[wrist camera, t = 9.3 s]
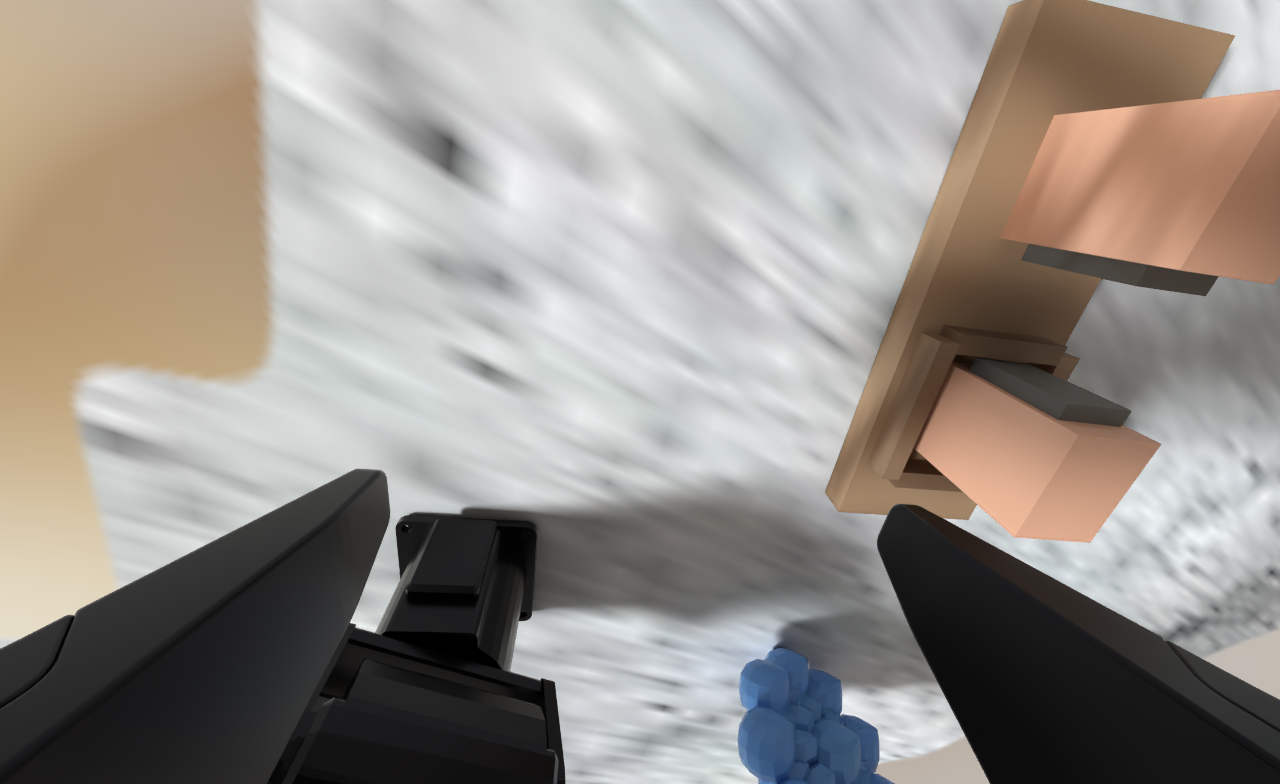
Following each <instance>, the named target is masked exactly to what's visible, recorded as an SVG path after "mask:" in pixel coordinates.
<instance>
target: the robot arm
mask: <svg viewBox="0 0 1280 784" xmlns="http://www.w3.org/2000/svg"><path fill="white" fill-rule="evenodd" d="M389 519H390V504H389V494H388V485H387V477H386V475H385V473H384V472H383V471H381V470H372V469H355V470H353V471H351V472H349V473H347V474H345V475H343V476H341V477H339V478H337V479H335V480H333V481H331V482H329V483H327V484H325V485H323V486H321V487H319V488H317V489H315V490H313V491H311V492H309V493H307V494H305V495H303V496H301V497H299V498H298V499H296V500H294V501H292V502H290V503H288V504H286V505H284V506H282V507H280V508H278V509H276V510H274V511H272V512H270V513H268V514H266V515H264V516H262V517H260V518H258V519H256V520H254V521H252V522H250V523H248V524H246V525H244V526H242V527H240V528H238V529H236V530H234V531H232V532H231V533H229V534H227V535H225V536H223V537H221V538H219V539H217V540H215V541H213V542H211V543H209V544H207V545H205V546H203V547H201V548H199V549H197V550H195V551H193V552H191V553H189V554H187V555H185V556H183V557H181V558H179V559H177V560H175V561H173V562H171V563H169V564H167V565H165V566H163V567H161V568H159V569H158V570H156V571H154V572H152V573H150V574H148V575H146V576H144V577H142V578H140V579H138V580H136V581H134V582H132V583H130V584H128V585H126V586H124V587H122V588H120V589H118V590H116V591H114V592H112V593H110V594H108V595H106V596H104V597H102V598H100V599H98V600H96V601H94V602H92V603H90V604H89V605H86V606H85V607H83V608H81V609H79V610H78V611H77V612H76V614H75V616H74V615H67V616H64V617H62V618H61V619H59V620H57V621H55V622H53V623H51V624H49V625H47V626H45V627H43V628H41V629H39V630H37V631H35V632H33V633H31V634H29V635H27V636H25V637H23V638H21V639H19V640H17V641H15V642H13V643H11V644H9V645H7V646H5V647H3V648H1V649H0V784H565V766H564V758H563V749H562V741H561V732H560V723H559V715H558V706H557V698H556V689H555V682H553V681H550V680H546V679H543V678H542V679H541V680H537V679H534V678H530V677H527V676H523V675H520V674H516V673H513V672H510V668H511V663H512V657H513V651H514V645H515V639H516V633H517V628H518V622H519V621H526V620H528V619H530V618H531V616H532V610H533V596H534V580H535V564H536V549H537V533H538V529H537V526H536V525H535V524H534V523H532V522H526V521H507V520H488V519H470V518H451V517H432V516H413V515H407V516H403V517H401V519H400V520H399V521H398V523H397V525H396V538H397V548H398V558H399V569H400V579H401V580H400V582H399V584H398V586H397V588H396V590H395V592H394V594H393V596H392V599H391V601H390V603H389V605H388V607H387V609H386V611H385V613H384V615H383V618H382V620H381V622H380V624H379V626H378V628H377V630H376V632H375V633H373V632H370V631H366V630H363V629H359V628H356V627H355V626H356V625H355V624H352V623H350V621H351V619H352V616H353V614H354V612H355V610H356V607H357V605H358V602H359V600H360V597H361V595H362V592H363V590H364V587H365V584H366V582H367V579H368V576H369V574H370V571H371V569H372V566H373V563H374V561H375V558H376V555H377V553H378V550H379V548H380V545H381V542H382V540H383V537H384V534H385V532H386V529H387V526H388V523H389ZM405 525H408V526H410V527H412V528H409V527H407V526H405ZM524 531H528V532H530V533H528V534H527V533H524ZM877 547H878V551H879V553H880V556H881V558H882V561H883V563H884V566H885V568H886V571H887V573H888V576H889V578H890V580H891V583H892V585H893V588H894V590H895V593H896V595H897V598H898V600H899V603H900V605H901V608H902V610H903V612H904V615H905V617H906V619H907V622H908V624H909V626H910V629H911V631H912V633H913V635H914V637H915V639H916V641H917V643H918V645H919V647H920V649H921V651H922V653H923V655H924V656H925V658H926V660H927V662H928V664H929V666H930V668H931V670H932V672H933V674H934V676H935V678H936V680H937V682H938V684H939V686H940V688H941V689H942V691H943V693H944V695H945V697H946V699H947V701H948V703H949V705H950V707H951V709H952V711H953V713H954V715H955V717H956V719H957V720H958V722H959V724H960V726H961V728H962V730H963V732H964V734H965V736H966V738H967V740H968V742H969V744H970V746H971V748H972V749H973V752H974V753H975V755H976V757H977V759H978V761H979V763H980V765H981V767H982V769H983V771H984V773H985V775H986V777H987V779H988V781H989V783H990V784H1280V700H1279V699H1277V698H1275V697H1273V696H1271V695H1270V694H1267V693H1266V692H1264V691H1262V690H1260V689H1258V688H1256V687H1254V686H1252V685H1250V684H1248V683H1246V682H1245V681H1243V680H1241V679H1239V678H1237V677H1235V676H1233V675H1231V674H1230V673H1228V672H1226V671H1224V670H1222V669H1220V668H1218V667H1216V666H1215V665H1213V664H1211V663H1209V662H1207V661H1205V660H1203V659H1201V658H1200V657H1198V656H1196V655H1194V654H1192V653H1190V652H1188V651H1187V650H1185V649H1183V648H1181V647H1179V646H1177V645H1176V644H1174V643H1172V642H1170V641H1164V639H1163V638H1162V637H1160V636H1159V635H1157V634H1155V633H1153V632H1151V631H1150V630H1148V629H1146V628H1144V627H1142V626H1140V625H1138V624H1137V623H1135V622H1133V621H1131V620H1129V619H1127V618H1126V617H1124V616H1122V615H1120V614H1118V613H1116V612H1114V611H1113V610H1111V609H1109V608H1107V607H1105V606H1103V605H1102V604H1100V603H1098V602H1096V601H1094V600H1092V599H1090V598H1089V597H1087V596H1085V595H1083V594H1081V593H1079V592H1078V591H1076V590H1074V589H1072V588H1070V587H1068V586H1067V585H1065V584H1063V583H1061V582H1059V581H1057V580H1055V579H1054V578H1052V577H1050V576H1048V575H1046V574H1044V573H1043V572H1041V571H1039V570H1037V569H1035V568H1033V567H1031V566H1030V565H1028V564H1026V563H1024V562H1022V561H1020V560H1019V559H1017V558H1015V557H1013V556H1011V555H1009V554H1007V553H1006V552H1004V551H1002V550H1000V549H998V548H996V547H995V546H993V545H991V544H989V543H987V542H985V541H983V540H982V539H980V538H978V537H976V536H974V535H972V534H971V533H969V532H967V531H965V530H963V529H961V528H959V527H958V526H956V525H954V524H952V523H950V522H948V521H947V520H945V519H943V518H941V517H939V516H937V515H936V514H934V513H932V512H930V511H928V510H926V509H924V508H923V507H921V506H918V505H912V504H896V505H894V506H893V507H892V508H891V509H890V511H889V513H888V515H887V518H886V520H885V522H884V524H883V526H882V529H881V531H880V533H879V535H878V539H877ZM522 611H524V612H522Z"/></svg>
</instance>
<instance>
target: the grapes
mask: <svg viewBox="0 0 1280 784" xmlns="http://www.w3.org/2000/svg"><path fill="white" fill-rule="evenodd" d="M739 691H740V699H741V703H742V706H743V707H744V708H745V709H746V710H747V712H746V713H745V715H744V717H743V719H742V721H741V723H740V725H739V733H738V748H739V755H740V758H741V761H742V763H743V764H744V765H745V767H746V768H747V769H748V770H749V772H751V773H752V774H753V775H755V776H756V777H757V778H759V780H758V784H894V783H892V782H891V781H889V780H887V779H886V778H884V777H882V776H881V775H879V774H874V772H876V768H877V765H878V762H879V737H878V731H877V729H876V728H875V727H873V726H872V725H870V724H869V723H867V722H865V721H863V720H862V719H860V718H858V717H855V716H850V715H844V714H842V715H841V716H840V713H841V711H842V689H841V682H840V680H839V679H837V678H835V677H834V676H832V675H830V674H828V673H826V672H824V671H820V670H813V669H808V662H807V658H805V657H804V656H802V655H800V654H798V653H796V652H794V651H792V650H790V649H783V648H777V649H775V650H772V651H770V652H769V653H768V655H767V656H766V658H765V660H760V659H756V660H753V661H751V662H749V663H747V664H746V665H745V667H744V669H743V671H742V672H741V675H740V683H739Z"/></svg>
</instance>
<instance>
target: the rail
mask: <svg viewBox="0 0 1280 784" xmlns="http://www.w3.org/2000/svg"><path fill="white" fill-rule="evenodd" d="M1234 37H1235V36H1234V35H1230V34H1226V33H1222V32H1218V31H1213V30H1209V29H1205V28H1201V27H1197V26H1192V25H1188V24H1184V23H1180V22H1176V21H1171V20H1167V19H1163V18H1159V17H1155V16H1150V15H1146V14H1142V13H1138V12H1134V11H1129V10H1125V9H1121V8H1117V7H1113V6H1108V5H1104V4H1100V3H1096V2H1092V1H1087V0H1023V1H1021V2H1018V3H1015V4H1013V5H1010V6H1009V7H1008V9H1007V12H1006V15H1005V17H1004V20H1003V22H1002V25H1001V28H1000V30H999V33H998V36H997V38H996V41H995V44H994V46H993V49H992V52H991V54H990V57H989V60H988V62H987V65H986V67H985V70H984V73H983V75H982V78H981V81H980V83H979V86H978V89H977V91H976V94H975V97H974V99H973V102H972V105H971V107H970V110H969V113H968V115H967V118H966V120H965V123H964V126H963V128H962V131H961V134H960V136H959V139H958V142H957V144H956V147H955V150H954V152H953V155H952V158H951V160H950V163H949V166H948V168H947V171H946V173H945V176H944V179H943V181H942V184H941V187H940V189H939V192H938V195H937V197H936V200H935V203H934V205H933V208H932V211H931V213H930V216H929V218H928V221H927V224H926V226H925V229H924V232H923V234H922V237H921V240H920V242H919V245H918V248H917V250H916V253H915V256H914V258H913V261H912V264H911V266H910V269H909V271H908V274H907V277H906V279H905V282H904V285H903V287H902V290H901V293H900V295H899V298H898V301H897V303H896V306H895V309H894V311H893V314H892V317H891V319H890V322H889V324H888V327H887V330H886V332H885V335H884V338H883V340H882V343H881V346H880V348H879V351H878V354H877V356H876V359H875V362H874V364H873V367H872V369H871V372H870V375H869V377H868V380H867V383H866V385H865V388H864V391H863V393H862V396H861V399H860V401H859V404H858V407H857V409H856V412H855V415H854V417H853V420H852V422H851V425H850V428H849V430H848V433H847V436H846V438H845V441H844V444H843V446H842V449H841V452H840V454H839V457H838V460H837V462H836V465H835V468H834V470H833V473H832V475H831V478H830V481H829V483H828V486H827V489H826V491H825V493H826V494H827V496H828V497H829V499H830V500H831V502H832V503H833V504H834V506H835V507H836V509H837V510H838V512H849V513H866V514H882V515H888V513H889V511H890V509H891V508H892V507H893V506H894V505H896V504H912V505H918V506H921V507H923V508H924V509H926V510H928V511H930V512H932V513H934V514H936V515H937V516H939V517H941V518H947V519H963V520H969V518H970V516H971V514H972V512H973V511H974V509H975V507H976V505H977V504H976V503H975V502H974V501H973V500H972V499H971V498H969V497H968V496H967V495H966V494H965V493H964V492H963V491H962V490H960V489H959V488H958V487H957V486H956V485H955V484H954V483H953V482H951V481H950V480H949V479H948V478H947V477H946V476H945V475H944V474H942V473H941V472H940V471H939V470H938V469H937V468H936V467H935V466H933V465H932V464H931V463H930V462H929V461H928V460H927V459H926V458H924V457H923V456H922V455H921V454H920V453H919V452H918V451H916V450H915V449H914V448H913V447H914V445H915V443H916V441H917V438H918V436H919V434H920V432H921V430H922V427H923V425H924V423H925V421H926V419H927V416H928V414H929V412H930V410H931V408H932V405H933V403H934V401H935V399H936V396H937V394H938V392H939V390H940V388H941V385H942V383H943V381H944V379H945V377H946V374H947V372H948V370H949V368H950V366H951V363H952V362H957V363H965V364H973V363H974V361H975V359H976V357H978V358H986V359H993V360H1001V361H1009V362H1016V363H1024V364H1030V365H1032V366H1034V367H1036V368H1039V369H1041V370H1043V371H1045V372H1047V373H1050V374H1052V375H1054V376H1056V377H1058V378H1060V379H1063V380H1065V381H1067V380H1068V378H1069V376H1070V375H1071V373H1072V371H1073V369H1074V368H1075V366H1076V364H1077V362H1078V361H1079V359H1080V358H1077V357H1075V356H1072V355H1069V354H1067V353H1064V352H1065V351H1066V349H1067V347H1066V346H1065V344H1066V342H1067V340H1068V338H1069V336H1070V335H1071V333H1072V331H1073V329H1074V327H1075V326H1076V324H1077V322H1078V320H1079V318H1080V317H1081V315H1082V313H1083V311H1084V309H1085V307H1086V306H1087V304H1088V302H1089V300H1090V298H1091V297H1092V295H1093V293H1094V291H1095V289H1096V288H1097V286H1098V284H1099V282H1100V280H1101V278H1102V279H1106V280H1111V281H1116V282H1120V283H1125V284H1129V285H1134V286H1139V287H1146V288H1153V289H1160V290H1167V291H1174V292H1181V293H1188V294H1195V295H1201V296H1206V295H1207V293H1208V292H1209V290H1210V289H1211V287H1212V286H1213V284H1214V283H1215V281H1216V280H1217V278H1218V277H1219V276H1220V277H1227V278H1233V279H1240V280H1247V281H1253V282H1260V283H1266V284H1274V283H1275V282H1276V280H1277V279H1278V277H1279V276H1280V90H1275V91H1266V92H1257V93H1248V94H1239V95H1230V96H1221V97H1213V98H1204V99H1201V97H1202V95H1203V94H1204V92H1205V90H1206V88H1207V86H1208V84H1209V83H1210V81H1211V79H1212V77H1213V75H1214V74H1215V72H1216V70H1217V68H1218V66H1219V65H1220V63H1221V61H1222V59H1223V57H1224V55H1225V54H1226V52H1227V50H1228V48H1229V46H1230V45H1231V43H1232V41H1233V39H1234Z"/></svg>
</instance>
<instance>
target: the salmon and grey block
mask: <svg viewBox="0 0 1280 784" xmlns="http://www.w3.org/2000/svg"><path fill="white" fill-rule="evenodd" d="M1130 413H1131V410H1128V409H1126V408H1124V407H1122V406H1120V405H1117V404H1115V403H1113V402H1111V401H1109V400H1106V399H1104V398H1102V397H1100V396H1098V395H1095V394H1093V393H1091V392H1089V391H1087V390H1085V389H1082V388H1080V387H1078V386H1076V385H1074V384H1071V383H1069V382H1067V381H1065V380H1063V379H1060V378H1058V377H1056V376H1054V375H1052V374H1050V373H1047V372H1045V371H1043V370H1041V369H1039V368H1036V367H1034V366H1032V365H1030V364H1024V363H1016V362H1009V361H1001V360H993V359H986V358H978V357H976V359H975V361H974V363H973V364H965V363H957V362H952V363H951V366H950V368H949V370H948V372H947V374H946V377H945V379H944V381H943V383H942V385H941V388H940V390H939V392H938V394H937V396H936V399H935V401H934V403H933V405H932V408H931V410H930V412H929V414H928V416H927V419H926V421H925V423H924V425H923V427H922V430H921V432H920V434H919V436H918V438H917V441H916V443H915V445H914V447H913V448H914V449H915V450H916V451H918V452H919V453H920V454H921V455H922V456H923V457H924V458H926V459H927V460H928V461H929V462H930V463H931V464H932V465H933V466H935V467H936V468H937V469H938V470H939V471H940V472H941V473H942V474H944V475H945V476H946V477H947V478H948V479H949V480H950V481H951V482H953V483H954V484H955V485H956V486H957V487H958V488H959V489H960V490H962V491H963V492H964V493H965V494H966V495H967V496H968V497H969V498H971V499H972V500H973V501H974V502H975V503H976V504H977V505H978V506H980V507H981V508H982V509H983V510H984V511H985V512H986V513H988V514H989V515H990V516H991V517H992V518H993V519H994V520H995V521H997V522H998V523H999V524H1000V525H1001V526H1002V527H1003V528H1004V529H1006V530H1007V531H1008V532H1009V533H1010V534H1011V535H1012V536H1013V537H1018V538H1033V539H1047V540H1061V541H1075V542H1089V543H1090V542H1091V540H1092V539H1093V538H1094V536H1095V535H1096V533H1097V532H1098V531H1099V529H1100V528H1101V527H1102V525H1103V524H1104V522H1105V521H1106V520H1107V518H1108V517H1109V516H1110V514H1111V513H1112V511H1113V510H1114V509H1115V507H1116V506H1117V505H1118V503H1119V502H1120V500H1121V499H1122V498H1123V496H1124V495H1125V493H1126V492H1127V491H1128V489H1129V488H1130V487H1131V485H1132V484H1133V482H1134V481H1135V480H1136V478H1137V477H1138V476H1139V474H1140V473H1141V471H1142V470H1143V469H1144V467H1145V466H1146V465H1147V463H1148V462H1149V460H1150V459H1151V458H1152V456H1153V455H1154V454H1155V452H1156V451H1157V449H1158V448H1159V447H1160V445H1161V444H1160V443H1158V442H1156V441H1154V440H1152V439H1150V438H1148V437H1146V436H1144V435H1142V434H1140V433H1138V432H1136V431H1134V430H1132V429H1130V428H1128V427H1126V426H1124V425H1123V423H1124V422H1125V420H1126V419H1127V417H1128V416H1129V414H1130Z"/></svg>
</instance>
